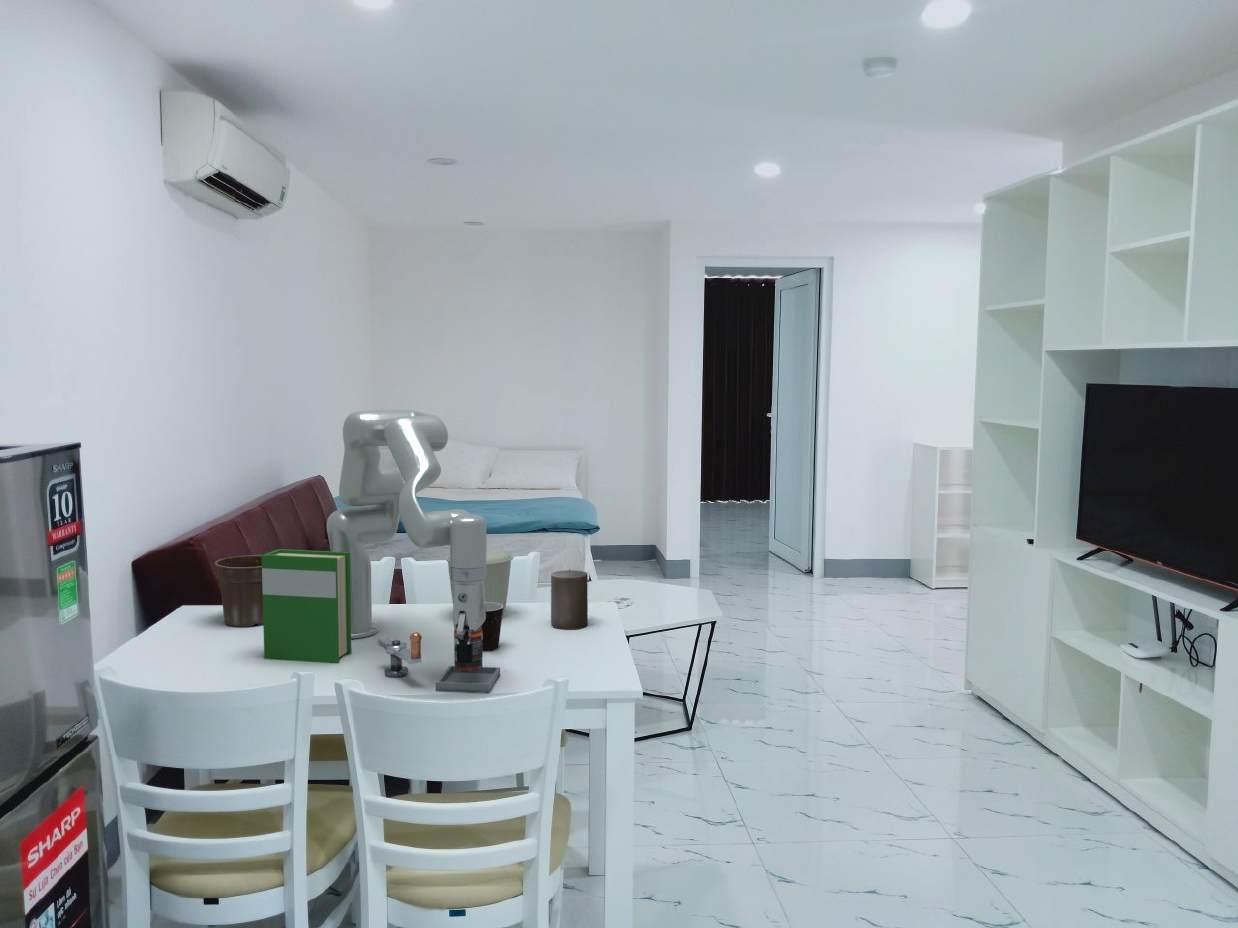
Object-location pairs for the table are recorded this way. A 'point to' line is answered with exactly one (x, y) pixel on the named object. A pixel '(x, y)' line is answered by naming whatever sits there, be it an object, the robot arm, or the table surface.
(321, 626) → the hardback book
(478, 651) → the supplement bottle
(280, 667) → the table surface
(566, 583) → the pillar candle
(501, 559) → the canister
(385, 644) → the crank
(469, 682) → the tray
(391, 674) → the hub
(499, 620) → the coffee mug
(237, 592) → the plant pot
